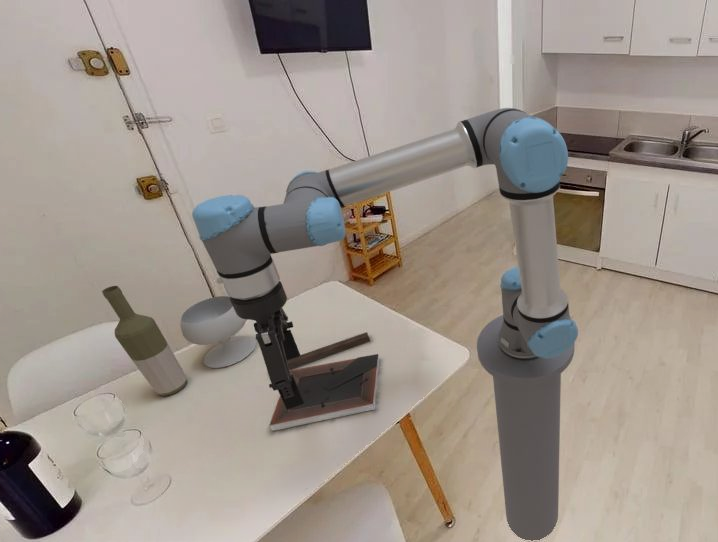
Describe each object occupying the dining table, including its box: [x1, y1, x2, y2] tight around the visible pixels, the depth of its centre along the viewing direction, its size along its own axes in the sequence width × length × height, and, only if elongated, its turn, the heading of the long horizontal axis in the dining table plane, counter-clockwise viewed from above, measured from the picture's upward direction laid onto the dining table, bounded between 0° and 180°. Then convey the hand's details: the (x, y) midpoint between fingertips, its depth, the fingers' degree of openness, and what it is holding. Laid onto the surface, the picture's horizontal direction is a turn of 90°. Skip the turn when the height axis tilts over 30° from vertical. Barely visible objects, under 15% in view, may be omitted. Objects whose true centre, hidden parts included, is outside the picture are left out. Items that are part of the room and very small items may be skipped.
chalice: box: [179, 295, 257, 369], centre depth 109 cm, size 14×14×15 cm
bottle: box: [101, 285, 188, 397], centre depth 94 cm, size 7×7×30 cm
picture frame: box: [269, 353, 380, 432], centre depth 98 cm, size 16×2×22 cm
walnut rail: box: [287, 331, 371, 370], centre depth 110 cm, size 24×2×2 cm, turn 120°
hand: (294, 379), depth 78 cm, fingers open, 13 cm apart
